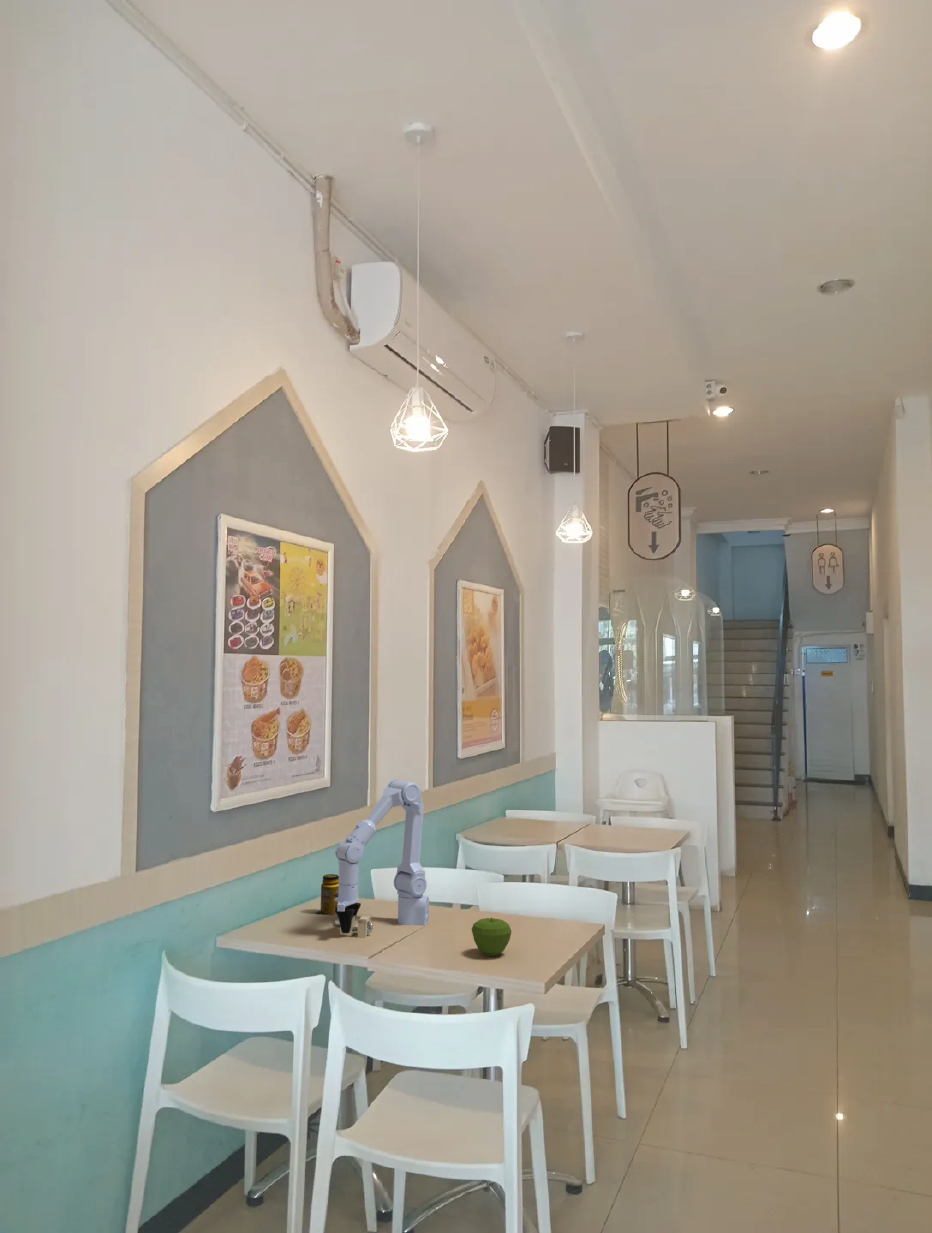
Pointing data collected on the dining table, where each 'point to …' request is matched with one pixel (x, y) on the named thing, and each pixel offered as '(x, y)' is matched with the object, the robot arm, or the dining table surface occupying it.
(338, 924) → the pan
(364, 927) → the grey dial panel
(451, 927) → the dining table surface
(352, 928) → the beige rectangular block
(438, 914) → the dining table surface
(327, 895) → the condiment
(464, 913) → the dining table surface
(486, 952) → the apple
